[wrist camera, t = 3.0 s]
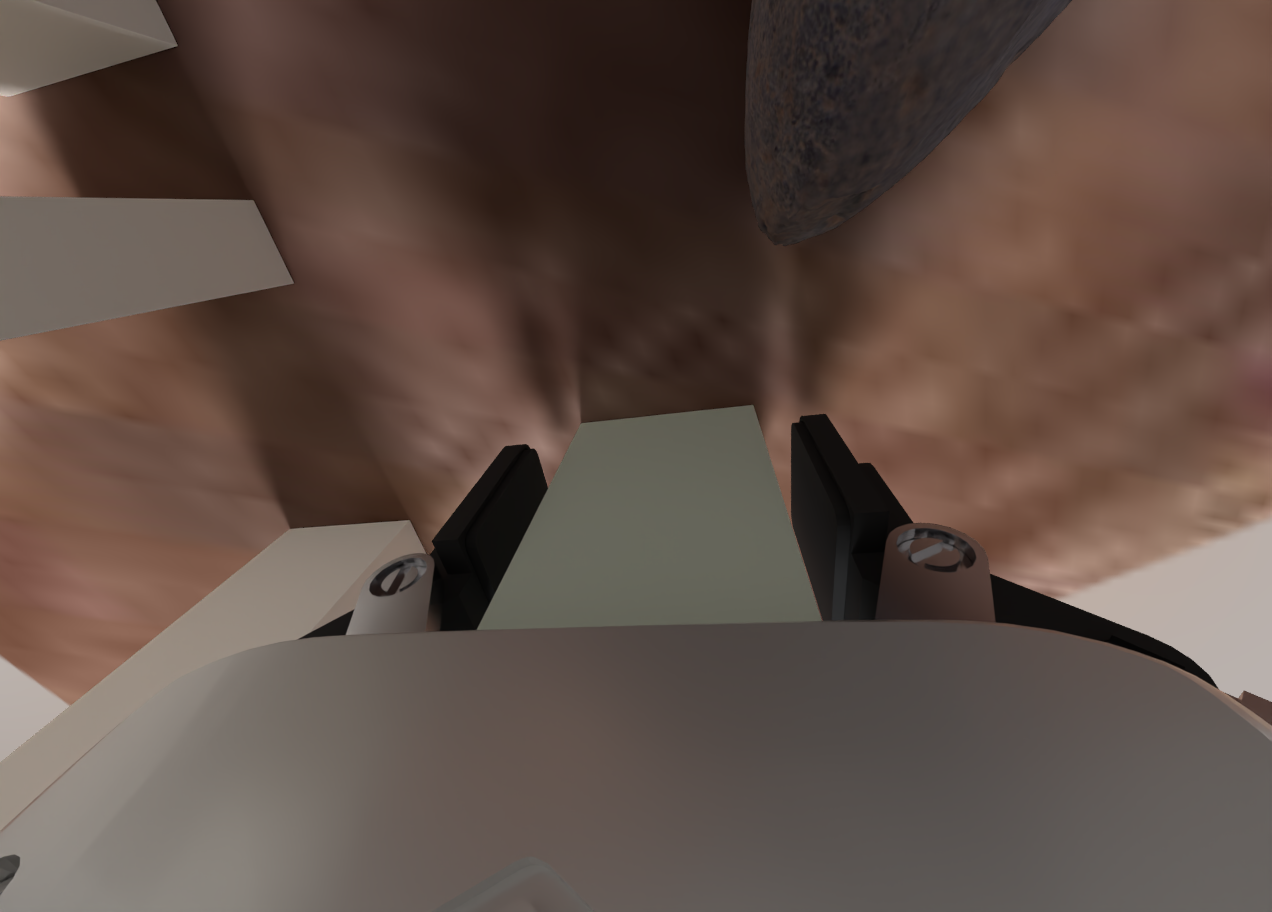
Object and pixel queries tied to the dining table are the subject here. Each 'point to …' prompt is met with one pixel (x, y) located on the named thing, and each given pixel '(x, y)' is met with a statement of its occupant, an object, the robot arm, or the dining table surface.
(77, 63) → the domino
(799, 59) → the perforated stone tool
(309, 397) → the dining table surface
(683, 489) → the domino
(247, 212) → the domino
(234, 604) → the domino
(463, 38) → the dining table surface
